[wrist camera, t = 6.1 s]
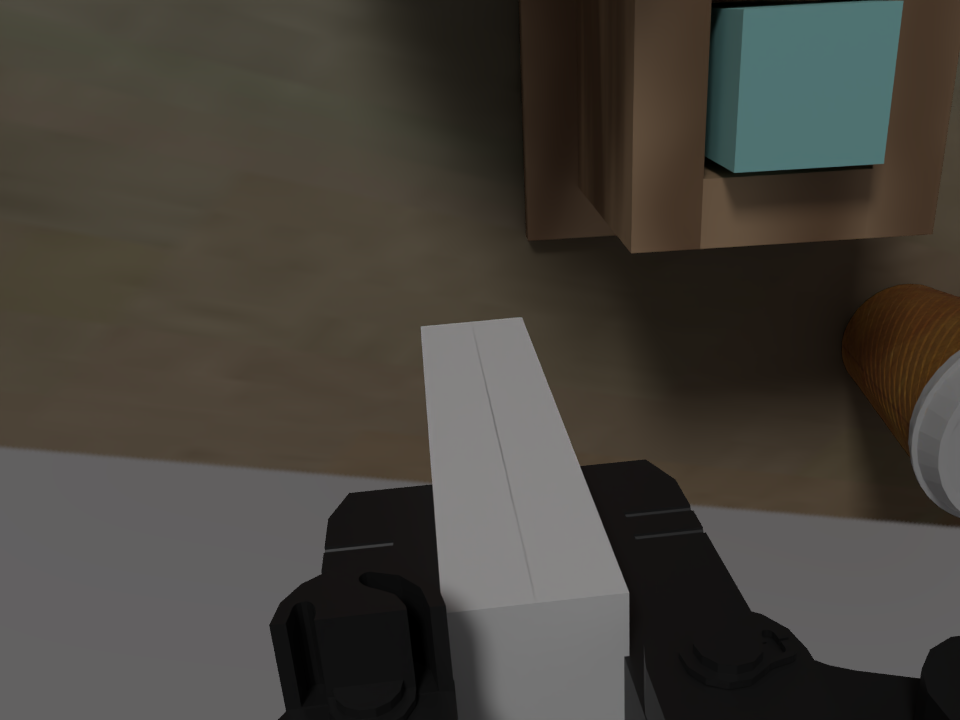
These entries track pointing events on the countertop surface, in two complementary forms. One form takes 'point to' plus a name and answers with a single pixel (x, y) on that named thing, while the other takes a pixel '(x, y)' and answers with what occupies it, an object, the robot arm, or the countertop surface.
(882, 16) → the block
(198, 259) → the countertop surface
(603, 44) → the chute
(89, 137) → the countertop surface
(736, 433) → the countertop surface
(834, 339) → the countertop surface
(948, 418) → the disposable coffee cup
